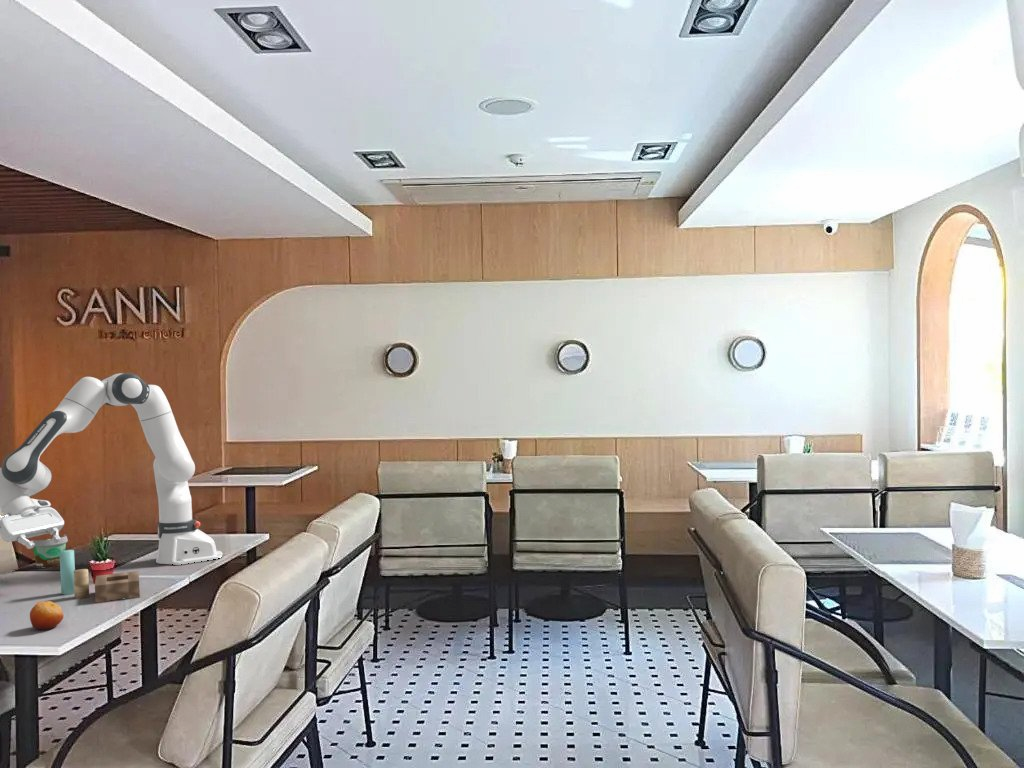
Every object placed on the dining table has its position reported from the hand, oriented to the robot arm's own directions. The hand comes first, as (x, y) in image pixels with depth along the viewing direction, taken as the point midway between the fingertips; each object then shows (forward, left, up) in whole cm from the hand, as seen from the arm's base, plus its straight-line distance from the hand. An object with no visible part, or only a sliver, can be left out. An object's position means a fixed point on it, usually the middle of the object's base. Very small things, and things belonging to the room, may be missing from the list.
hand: (45, 544), depth 274 cm
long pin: (-6, +6, -15) cm, 17 cm away
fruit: (-3, +45, -15) cm, 48 cm away
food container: (+1, -41, -15) cm, 43 cm away
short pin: (-10, +13, -15) cm, 22 cm away
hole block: (-20, +16, -15) cm, 30 cm away
